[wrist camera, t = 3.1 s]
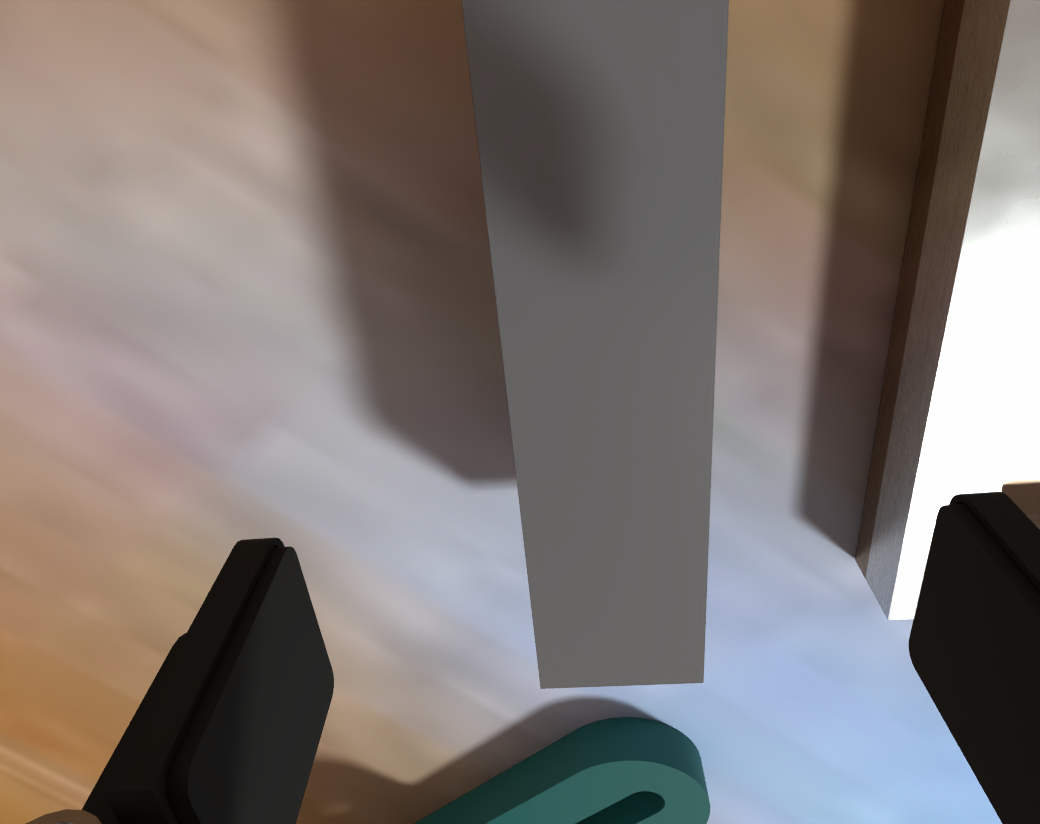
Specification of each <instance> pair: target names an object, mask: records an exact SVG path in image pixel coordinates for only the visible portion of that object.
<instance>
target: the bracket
mask: <svg viewBox="0 0 1040 824" xmlns="http://www.w3.org/2000/svg"><path fill="white" fill-rule="evenodd" d="M709 814H710V803H709V797H708V792H707V787H706V782H705V777H704V772H703V767H702V762H701V757H700V754H699V752H698V750H697V748H696V746H695V745H694V743H693V742H692V741H691V740H690V739H689V738H688V737H687V736H686V735H684V734H683V733H682V732H680V731H678V730H677V729H675V728H673V727H671V726H669V725H666V724H664V723H661V722H657V721H653V720H649V719H643V718H631V717H622V718H611V719H605V720H601V721H596V722H593V723H590V724H587V725H585V726H583V727H580V728H579V729H577V730H575V731H573V732H571V733H570V734H568V735H566V736H564V737H563V738H561V739H559V740H557V741H556V742H554V743H552V744H551V745H549V746H547V747H545V748H544V749H542V750H540V751H539V752H537V753H535V754H533V755H532V756H530V757H528V758H526V759H525V760H523V761H521V762H520V763H518V764H516V765H514V766H513V767H511V768H509V769H507V770H506V771H504V772H502V773H501V774H499V775H497V776H495V777H494V778H492V779H490V780H488V781H487V782H485V783H483V784H482V785H480V786H478V787H476V788H475V789H473V790H471V791H469V792H468V793H466V794H464V795H463V796H461V797H459V798H457V799H456V800H454V801H452V802H450V803H449V804H447V805H445V806H444V807H442V808H440V809H438V810H437V811H435V812H433V813H432V814H430V815H428V816H426V817H425V818H423V819H421V820H419V821H418V822H416V823H414V824H706V823H707V821H708V818H709Z"/></svg>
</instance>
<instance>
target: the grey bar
mask: <svg viewBox="0 0 1040 824" xmlns="http://www.w3.org/2000/svg"><path fill="white" fill-rule="evenodd" d="M461 1H462V9H463V18H464V27H465V35H466V44H467V53H468V61H469V70H470V79H471V87H472V96H473V105H474V114H475V122H476V131H477V140H478V148H479V157H480V166H481V174H482V183H483V192H484V200H485V209H486V218H487V226H488V235H489V244H490V252H491V261H492V270H493V279H494V287H495V296H496V305H497V313H498V322H499V331H500V339H501V348H502V357H503V365H504V374H505V383H506V391H507V400H508V409H509V417H510V426H511V435H512V444H513V452H514V461H515V470H516V478H517V487H518V496H519V504H520V513H521V522H522V530H523V539H524V548H525V556H526V565H527V574H528V582H529V591H530V600H531V609H532V617H533V626H534V635H535V643H536V652H537V661H538V669H539V678H540V687H541V689H545V688H573V687H600V686H628V685H655V684H683V683H703V678H704V651H705V624H706V598H707V571H708V544H709V517H710V490H711V463H712V436H713V410H714V383H715V356H716V329H717V302H718V275H719V248H720V221H721V195H722V168H723V141H724V114H725V87H726V60H727V33H728V7H729V0H461Z"/></svg>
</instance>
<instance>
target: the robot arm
mask: <svg viewBox="0 0 1040 824" xmlns="http://www.w3.org/2000/svg"><path fill="white" fill-rule="evenodd" d="M909 652H910V657H911V660H912V663H913V666H914V668H915V670H916V671H917V673H918V675H919V677H920V678H921V680H922V682H923V684H924V686H925V687H926V689H927V691H928V693H929V694H930V696H931V698H932V700H933V701H934V703H935V705H936V707H937V709H938V710H939V712H940V714H941V716H942V717H943V719H944V721H945V723H946V724H947V726H948V728H949V730H950V732H951V733H952V735H953V737H954V739H955V740H956V742H957V744H958V746H959V747H960V749H961V751H962V753H963V755H964V756H965V758H966V760H967V762H968V763H969V765H970V767H971V769H972V770H973V772H974V774H975V776H976V778H977V779H978V781H979V783H980V785H981V786H982V788H983V790H984V792H985V793H986V795H987V797H988V799H989V801H990V802H991V804H992V806H993V808H994V809H995V811H996V813H997V815H998V816H999V818H1000V820H1001V822H1002V824H1040V529H1039V528H1038V527H1037V526H1036V525H1035V524H1034V523H1033V522H1032V521H1031V520H1030V519H1029V518H1028V517H1027V516H1026V515H1025V513H1024V512H1023V511H1022V510H1021V509H1020V508H1019V507H1018V506H1017V505H1016V504H1015V503H1014V502H1013V501H1012V500H1011V499H1010V498H1009V497H1008V496H1007V495H1006V494H1004V493H1002V492H998V491H995V492H980V493H964V494H957V495H954V496H953V497H952V499H951V500H950V503H949V505H943V506H941V507H940V509H939V511H938V513H937V517H936V522H935V526H934V531H933V535H932V540H931V544H930V549H929V553H928V558H927V562H926V566H925V571H924V575H923V580H922V584H921V589H920V593H919V598H918V602H917V607H916V611H915V616H914V620H913V625H912V629H911V634H910V638H909ZM333 688H334V677H333V671H332V667H331V664H330V661H329V657H328V654H327V651H326V648H325V644H324V641H323V638H322V635H321V632H320V628H319V625H318V622H317V619H316V615H315V612H314V609H313V606H312V602H311V599H310V596H309V593H308V589H307V586H306V583H305V580H304V576H303V573H302V570H301V567H300V563H299V560H298V557H297V554H296V551H295V550H294V548H293V547H284V544H283V542H282V541H281V540H280V539H279V538H265V539H249V540H240V541H238V542H237V543H236V545H235V546H234V547H233V549H232V551H231V553H230V555H229V557H228V558H227V560H226V562H225V564H224V566H223V568H222V569H221V571H220V573H219V575H218V577H217V579H216V580H215V582H214V584H213V586H212V588H211V590H210V591H209V593H208V595H207V597H206V599H205V601H204V602H203V604H202V606H201V608H200V610H199V612H198V613H197V615H196V617H195V619H194V621H193V623H192V624H191V626H190V628H189V630H188V632H187V633H185V634H184V635H182V636H181V637H179V638H178V640H177V641H176V642H175V644H174V645H173V647H172V648H171V650H170V652H169V654H168V655H167V657H166V659H165V661H164V663H163V664H162V666H161V668H160V670H159V672H158V673H157V675H156V677H155V679H154V681H153V682H152V684H151V686H150V688H149V690H148V691H147V693H146V695H145V697H144V699H143V700H142V702H141V704H140V706H139V708H138V709H137V711H136V713H135V715H134V717H133V718H132V720H131V722H130V724H129V726H128V727H127V729H126V731H125V733H124V735H123V736H122V738H121V740H120V742H119V744H118V745H117V747H116V749H115V751H114V753H113V754H112V756H111V758H110V760H109V762H108V763H107V765H106V767H105V769H104V771H103V772H102V774H101V776H100V778H99V780H98V781H97V783H96V785H95V787H94V789H93V790H92V792H91V794H90V796H89V798H88V799H87V801H86V803H85V805H84V807H83V808H82V810H70V809H65V810H61V811H57V812H53V813H49V814H45V815H43V816H41V817H39V818H37V819H35V820H32V821H30V822H28V823H26V824H296V821H297V817H298V814H299V810H300V807H301V803H302V800H303V796H304V793H305V789H306V786H307V782H308V779H309V775H310V772H311V769H312V765H313V762H314V758H315V755H316V751H317V748H318V744H319V741H320V737H321V734H322V730H323V727H324V723H325V720H326V717H327V713H328V710H329V706H330V703H331V699H332V695H333Z"/></svg>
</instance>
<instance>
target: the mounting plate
mask: <svg viewBox="0 0 1040 824" xmlns="http://www.w3.org/2000/svg"><path fill="white" fill-rule="evenodd" d="M995 491H998V492H1002V493H1004V494H1006V495H1007V496H1008V497H1009V498H1010V499H1011V500H1012V501H1013V502H1014V503H1015V504H1016V505H1017V506H1018V507H1019V508H1020V509H1021V510H1022V511H1023V512H1024V513H1025V515H1026V516H1027V517H1028V518H1029V519H1030V520H1031V521H1032V522H1033V523H1034V524H1035V525H1036V526H1037V527H1038V528H1039V529H1040V0H945V4H944V10H943V16H942V22H941V28H940V35H939V41H938V47H937V53H936V60H935V66H934V72H933V78H932V85H931V91H930V97H929V103H928V109H927V116H926V122H925V128H924V134H923V141H922V147H921V153H920V159H919V165H918V172H917V178H916V184H915V190H914V197H913V203H912V209H911V215H910V222H909V228H908V234H907V240H906V246H905V253H904V259H903V265H902V271H901V278H900V284H899V290H898V296H897V303H896V309H895V315H894V321H893V327H892V334H891V340H890V346H889V352H888V359H887V365H886V371H885V377H884V384H883V390H882V396H881V402H880V408H879V415H878V421H877V427H876V433H875V440H874V446H873V452H872V458H871V465H870V471H869V477H868V483H867V489H866V496H865V502H864V508H863V514H862V521H861V527H860V533H859V539H858V546H857V552H856V558H855V560H856V562H857V564H858V566H859V568H860V569H861V571H862V573H863V575H864V577H865V579H866V581H867V582H868V584H869V586H870V588H871V590H872V592H873V593H874V595H875V597H876V599H877V601H878V603H879V604H880V606H881V608H882V610H883V612H884V614H885V615H886V617H887V619H888V620H900V619H914V616H915V611H916V607H917V602H918V598H919V593H920V589H921V584H922V580H923V575H924V571H925V566H926V562H927V558H928V553H929V549H930V544H931V540H932V535H933V531H934V526H935V522H936V517H937V513H938V511H939V509H940V507H941V506H943V505H949V503H950V500H951V499H952V497H953V496H954V495H957V494H964V493H980V492H995Z"/></svg>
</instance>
